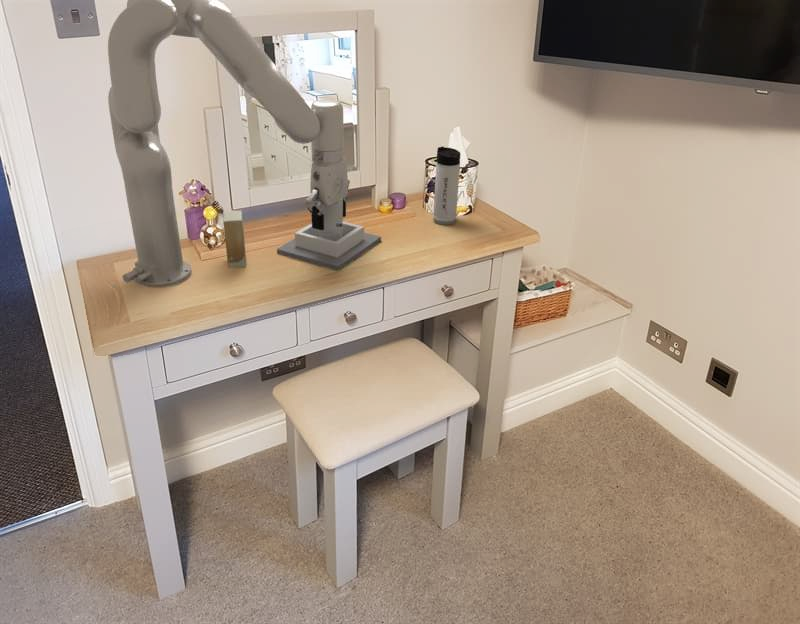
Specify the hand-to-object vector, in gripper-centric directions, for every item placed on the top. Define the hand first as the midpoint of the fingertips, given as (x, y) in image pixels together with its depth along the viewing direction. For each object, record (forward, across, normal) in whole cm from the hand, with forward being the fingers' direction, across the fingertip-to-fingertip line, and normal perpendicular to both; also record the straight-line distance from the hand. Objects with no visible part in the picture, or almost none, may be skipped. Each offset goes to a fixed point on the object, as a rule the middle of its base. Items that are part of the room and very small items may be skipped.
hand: (329, 222), depth 171 cm
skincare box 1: (+7, -19, +14) cm, 25 cm away
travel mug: (+7, +31, -17) cm, 36 cm away
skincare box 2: (+6, +1, 0) cm, 6 cm away
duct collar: (+7, 0, 0) cm, 7 cm away
